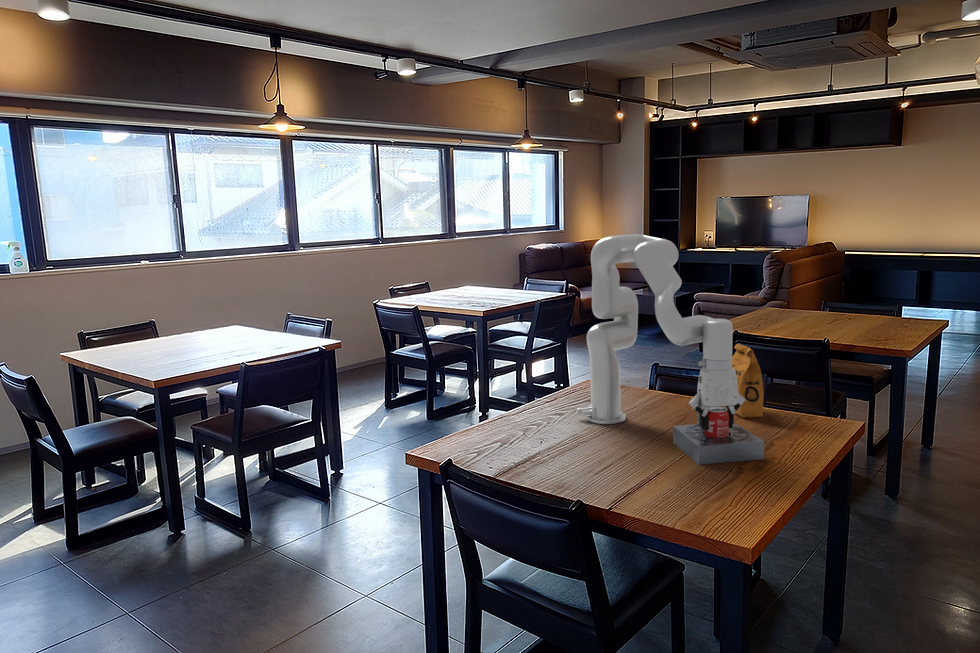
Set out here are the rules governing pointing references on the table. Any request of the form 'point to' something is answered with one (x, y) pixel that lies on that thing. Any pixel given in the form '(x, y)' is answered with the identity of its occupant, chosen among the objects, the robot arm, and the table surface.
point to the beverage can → (717, 422)
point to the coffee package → (748, 382)
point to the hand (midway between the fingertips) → (716, 427)
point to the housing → (718, 444)
